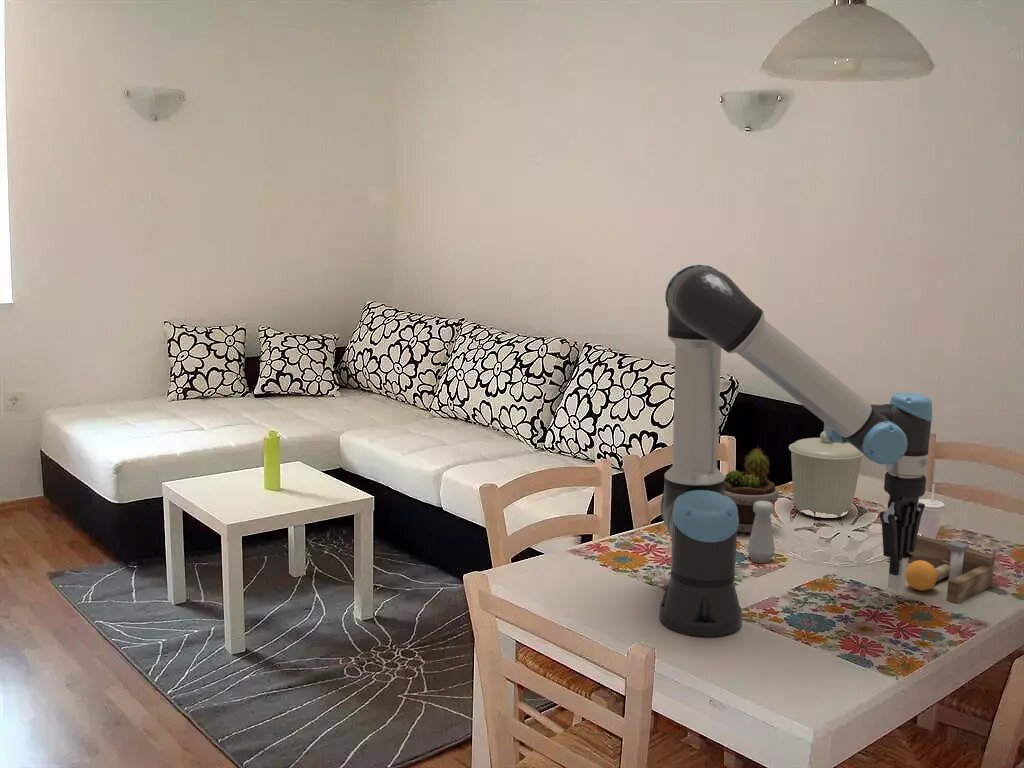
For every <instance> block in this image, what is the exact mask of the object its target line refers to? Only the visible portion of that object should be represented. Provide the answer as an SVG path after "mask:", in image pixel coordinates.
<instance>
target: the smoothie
mask: <svg viewBox="0 0 1024 768" xmlns="http://www.w3.org/2000/svg"><path fill="white" fill-rule="evenodd" d="M935 487H936V484H935V483H933V484H932V486H931V494H930V495H931V497H930V498H920V499H919V500H918V502H919V503H922V504H925V508H924V510H923V513H922V515H921V520H920V525H919V530H918V532H919V533H921V534H923V536H924V537H927V538H931V539H935V540H937V535H938V533H939V527H940V522H941V518H942V513H943V511H944V509H945V503H943V502H942V501H940V500H937V499H935V490H936V489H935Z"/></svg>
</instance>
